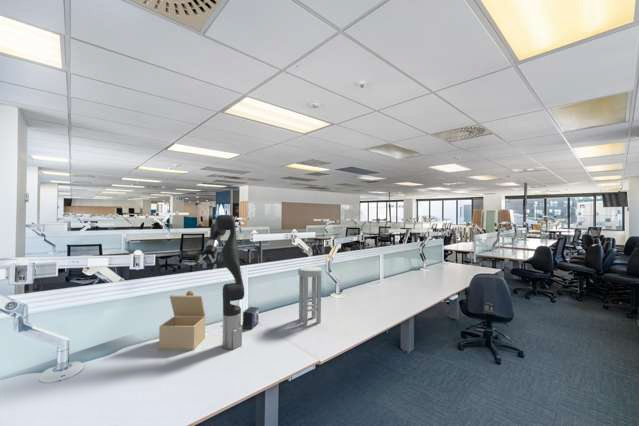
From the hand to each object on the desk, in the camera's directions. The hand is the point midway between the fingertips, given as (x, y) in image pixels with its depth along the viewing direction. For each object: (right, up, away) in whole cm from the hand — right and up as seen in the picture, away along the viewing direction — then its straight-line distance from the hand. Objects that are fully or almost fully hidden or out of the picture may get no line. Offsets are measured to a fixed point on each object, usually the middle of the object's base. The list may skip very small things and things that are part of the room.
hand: (204, 268), depth 171 cm
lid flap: (-2, -18, -16) cm, 24 cm away
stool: (+65, -38, +14) cm, 76 cm away
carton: (-3, -36, -21) cm, 42 cm away
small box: (+28, -37, +4) cm, 47 cm away
